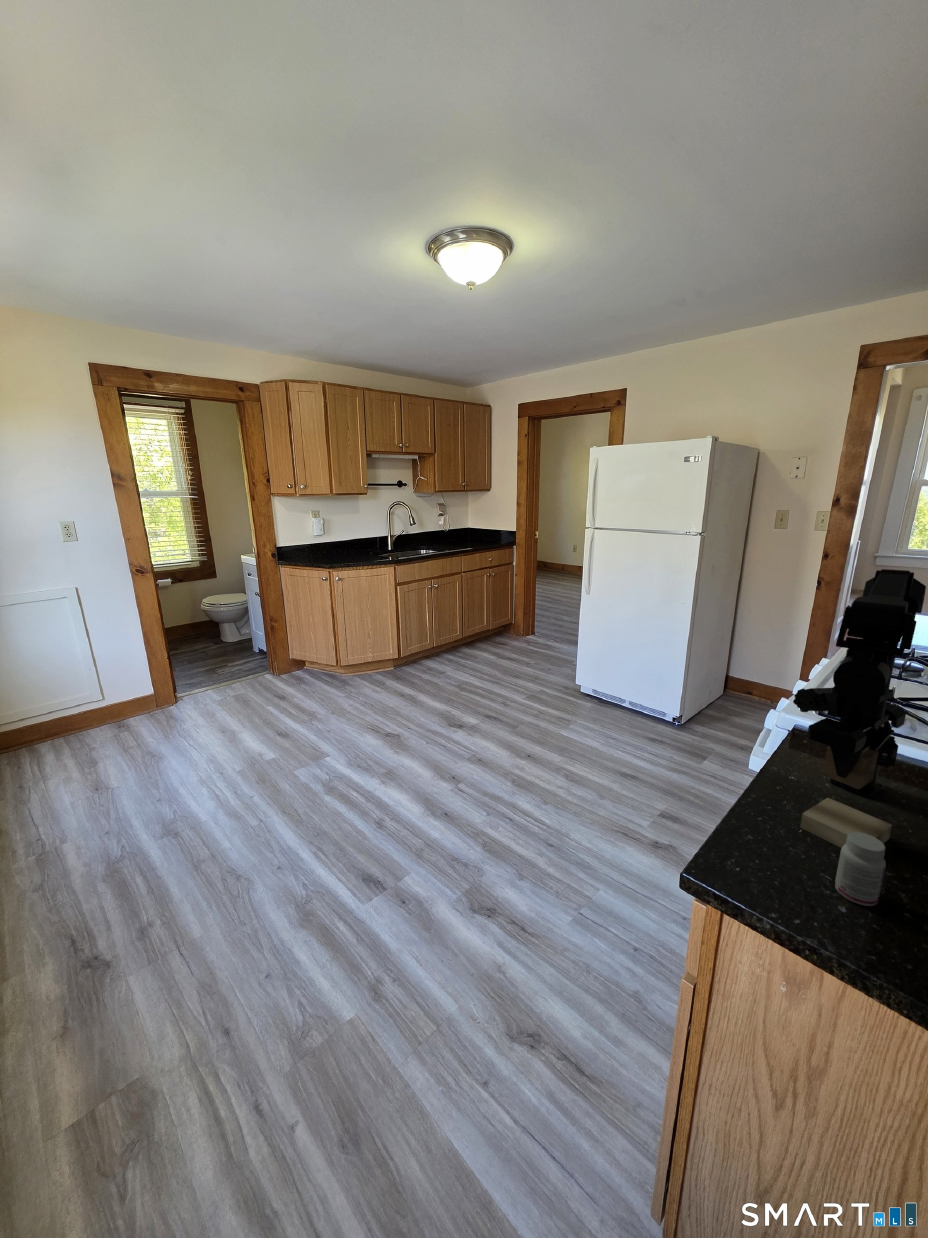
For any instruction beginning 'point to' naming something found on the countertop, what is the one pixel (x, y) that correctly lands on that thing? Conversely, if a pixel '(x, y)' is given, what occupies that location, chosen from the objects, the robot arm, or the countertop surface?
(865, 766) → the walnut cube
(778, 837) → the countertop surface
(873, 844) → the pill bottle
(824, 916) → the countertop surface
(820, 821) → the maple block
